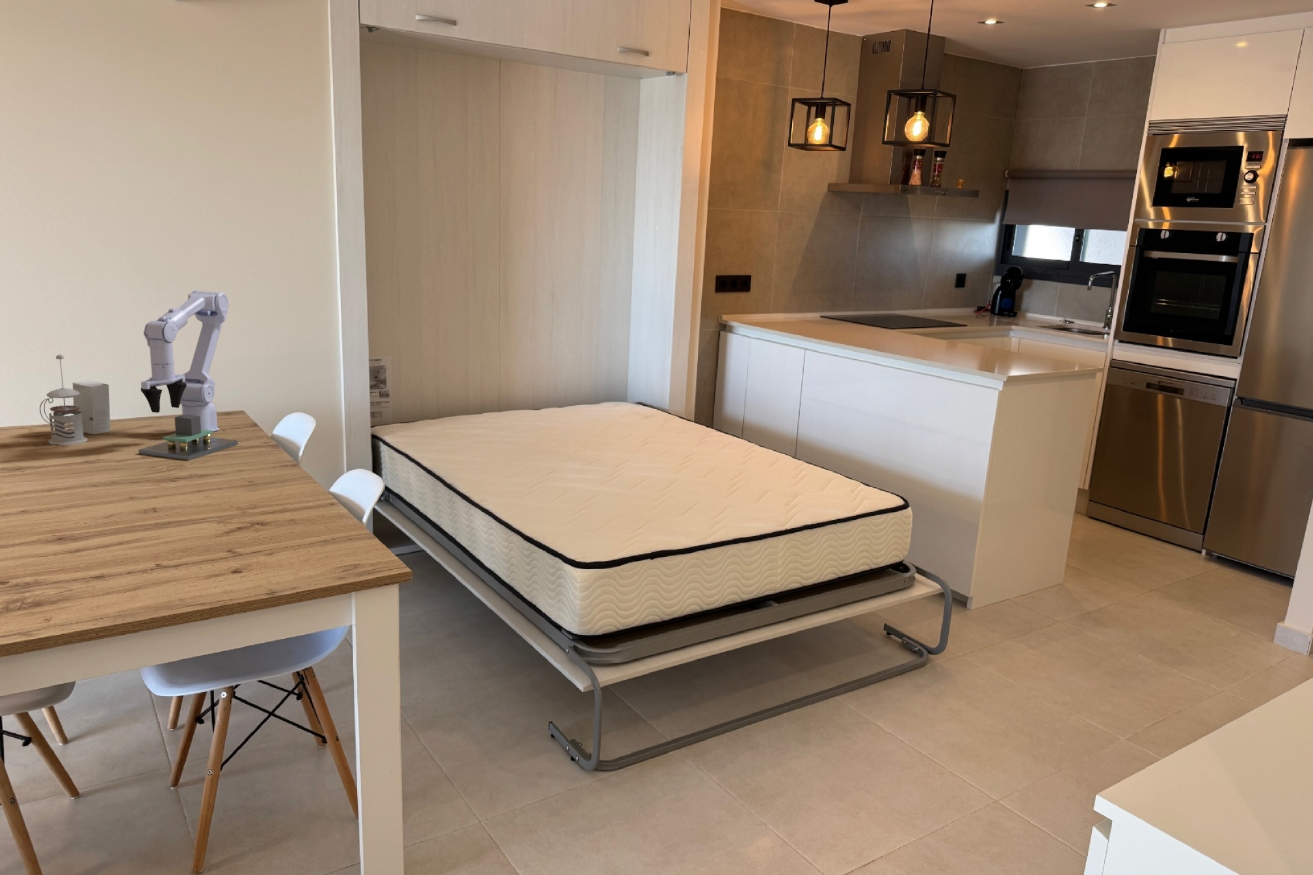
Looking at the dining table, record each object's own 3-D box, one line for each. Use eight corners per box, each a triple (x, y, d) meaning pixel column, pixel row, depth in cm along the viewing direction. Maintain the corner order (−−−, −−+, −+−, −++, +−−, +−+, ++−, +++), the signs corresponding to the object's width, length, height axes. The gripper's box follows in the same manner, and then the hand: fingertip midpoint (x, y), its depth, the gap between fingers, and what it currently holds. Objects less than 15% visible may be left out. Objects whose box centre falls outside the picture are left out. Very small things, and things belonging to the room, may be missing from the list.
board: (191, 430, 262) (189, 411, 261) (213, 433, 262) (212, 413, 260) (163, 440, 251) (161, 419, 250) (186, 442, 250) (184, 421, 249)
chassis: (191, 438, 268) (190, 426, 267) (237, 444, 265) (237, 432, 264) (138, 453, 249) (137, 440, 248) (188, 460, 246) (187, 447, 245)
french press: (73, 445, 253) (65, 358, 248) (32, 443, 254) (23, 355, 248) (95, 438, 263) (88, 353, 257) (56, 435, 263) (47, 350, 257)
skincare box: (74, 431, 269) (69, 382, 265) (92, 427, 274) (88, 379, 271) (94, 435, 266) (90, 385, 263) (113, 431, 272) (109, 382, 268)
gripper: (169, 358, 264) (172, 404, 268) (130, 365, 251) (134, 412, 254) (190, 360, 263) (192, 406, 266) (151, 367, 249) (155, 415, 252)
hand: (165, 409), depth 260 cm, fingers open, 7 cm apart
